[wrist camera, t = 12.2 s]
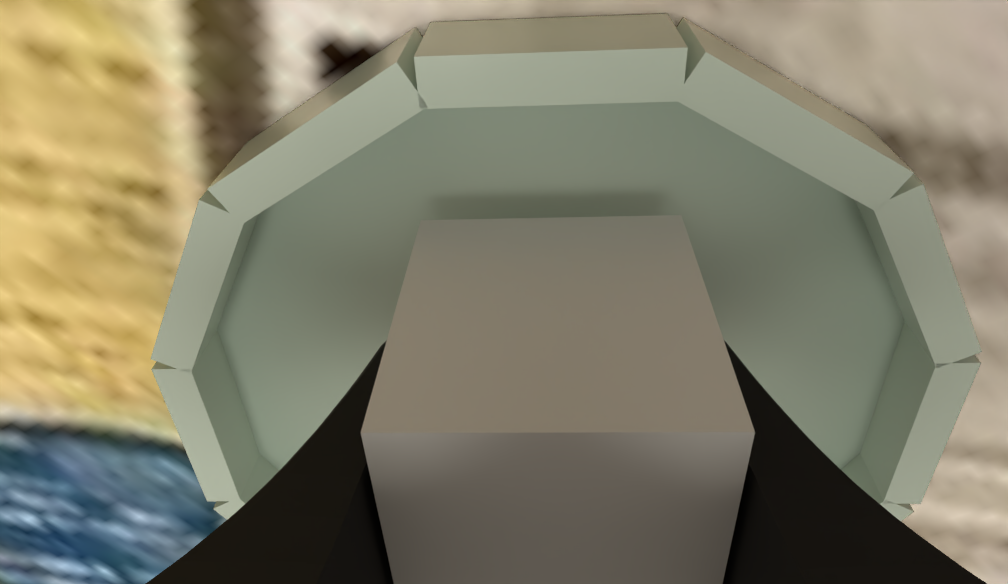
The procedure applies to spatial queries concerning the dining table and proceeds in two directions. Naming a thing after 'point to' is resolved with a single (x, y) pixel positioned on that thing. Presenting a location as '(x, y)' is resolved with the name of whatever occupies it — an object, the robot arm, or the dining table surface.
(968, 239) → the dining table surface
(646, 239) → the grey stone block
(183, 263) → the serving bowl
